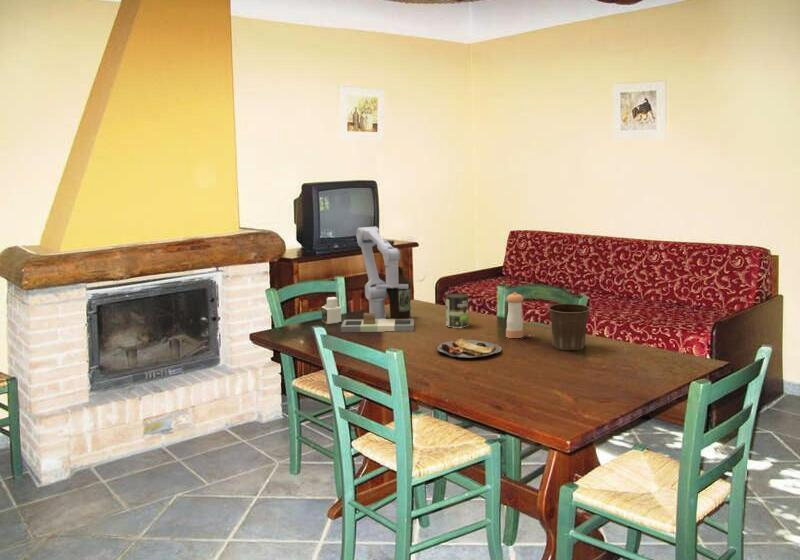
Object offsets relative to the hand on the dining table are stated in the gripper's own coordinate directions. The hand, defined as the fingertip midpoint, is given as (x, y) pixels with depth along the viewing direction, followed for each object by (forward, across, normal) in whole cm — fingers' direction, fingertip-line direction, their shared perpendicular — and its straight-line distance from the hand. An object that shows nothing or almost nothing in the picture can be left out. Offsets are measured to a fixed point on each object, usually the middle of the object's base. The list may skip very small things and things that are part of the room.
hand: (392, 304), depth 342 cm
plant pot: (+10, +71, -44) cm, 84 cm away
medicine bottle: (+10, -29, +8) cm, 32 cm away
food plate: (+10, +31, -49) cm, 59 cm away
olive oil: (+10, +3, +13) cm, 16 cm away
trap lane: (+9, -6, -6) cm, 13 cm away
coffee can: (+10, +29, -4) cm, 31 cm away
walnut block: (+7, -10, -6) cm, 14 cm away
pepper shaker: (+10, +52, -26) cm, 59 cm away
